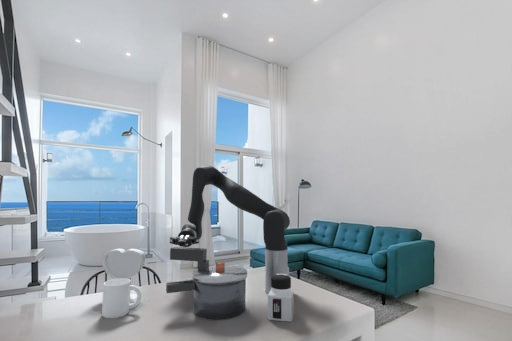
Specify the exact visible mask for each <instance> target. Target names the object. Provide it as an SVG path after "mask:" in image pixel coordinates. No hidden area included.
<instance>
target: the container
mask: <svg viewBox="0 0 512 341" xmlns="http://www.w3.org/2000/svg"><path fill="white" fill-rule="evenodd" d="M294 300H295V298H294V289H292V278H291V276H290V275H289V276H288V275H285V274H275V275H273V276H272V277H271V290H270V292H269V293H267V320H268V321H279V322H288V323H292V322H293V317H294V310H295V308H294V306H295V305H294V304H295V303H294Z"/></svg>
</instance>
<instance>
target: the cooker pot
mask: <svg viewBox="0 0 512 341" xmlns="http://www.w3.org/2000/svg"><path fill="white" fill-rule="evenodd" d="M246 281H247V278H246V279H244V280H242V281H240V282H236V283H230V284H204V283H200V282H197V281H195V280H194V279H191V280H180V281H172V282H171V281H169V282H166V283H165V284H166V286H165V287H166V288H165V291H166V292H165V293H166V294H173V293H174V294H175V293H184V292H190V291H191V292H193V303H192V304H193V308H192V309H193V311H192V312H193V314H194V315H195V316H196V317H198V318H200V319H203V320H209V321H224V320H231V319H234V318H238V317H240V316H241V315H242V314H244V313H245V312H246V309H247V308H246V296H247V293H246V290H247V288H246V284H247V282H246Z"/></svg>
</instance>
